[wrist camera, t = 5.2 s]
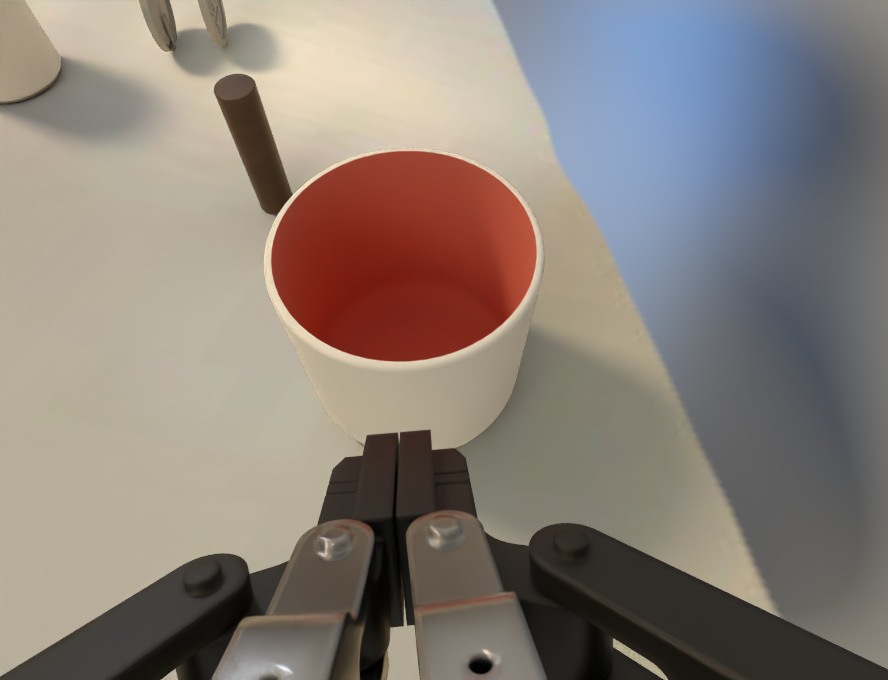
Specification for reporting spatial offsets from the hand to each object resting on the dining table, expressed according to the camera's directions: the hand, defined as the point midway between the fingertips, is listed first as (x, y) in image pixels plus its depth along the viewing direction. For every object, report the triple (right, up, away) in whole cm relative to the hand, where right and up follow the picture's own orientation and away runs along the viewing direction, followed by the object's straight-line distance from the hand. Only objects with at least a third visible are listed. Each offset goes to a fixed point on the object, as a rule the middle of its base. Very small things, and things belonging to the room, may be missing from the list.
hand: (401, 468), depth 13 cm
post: (-9, +12, +21) cm, 26 cm away
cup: (0, +1, +16) cm, 16 cm away
